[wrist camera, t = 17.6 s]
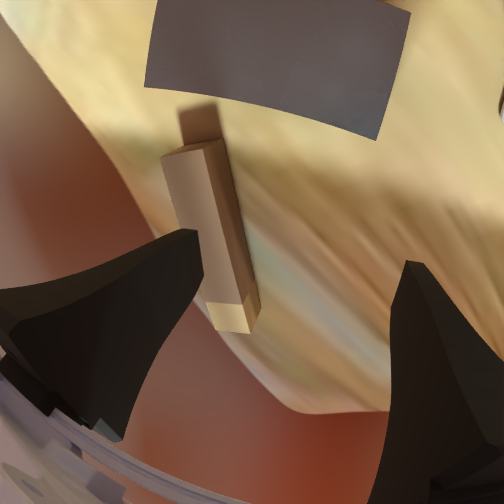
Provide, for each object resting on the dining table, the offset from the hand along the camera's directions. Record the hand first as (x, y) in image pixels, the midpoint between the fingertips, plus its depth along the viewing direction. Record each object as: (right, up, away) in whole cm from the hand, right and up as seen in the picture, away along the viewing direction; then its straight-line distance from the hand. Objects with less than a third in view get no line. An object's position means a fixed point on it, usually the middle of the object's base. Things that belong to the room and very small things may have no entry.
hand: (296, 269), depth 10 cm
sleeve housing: (0, +12, +4) cm, 12 cm away
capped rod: (-3, +2, +12) cm, 13 cm away
